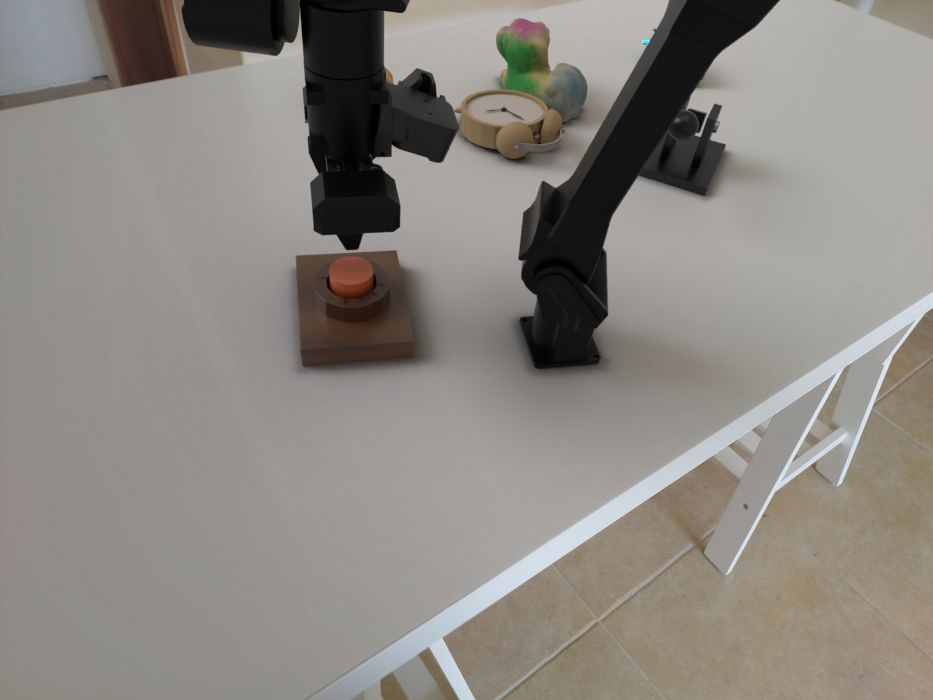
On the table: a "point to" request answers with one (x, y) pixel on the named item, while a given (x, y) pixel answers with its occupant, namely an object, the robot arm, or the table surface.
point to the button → (351, 277)
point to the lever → (687, 124)
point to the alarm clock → (510, 122)
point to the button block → (352, 313)
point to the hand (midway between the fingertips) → (350, 236)
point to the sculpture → (539, 68)
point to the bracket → (687, 158)
